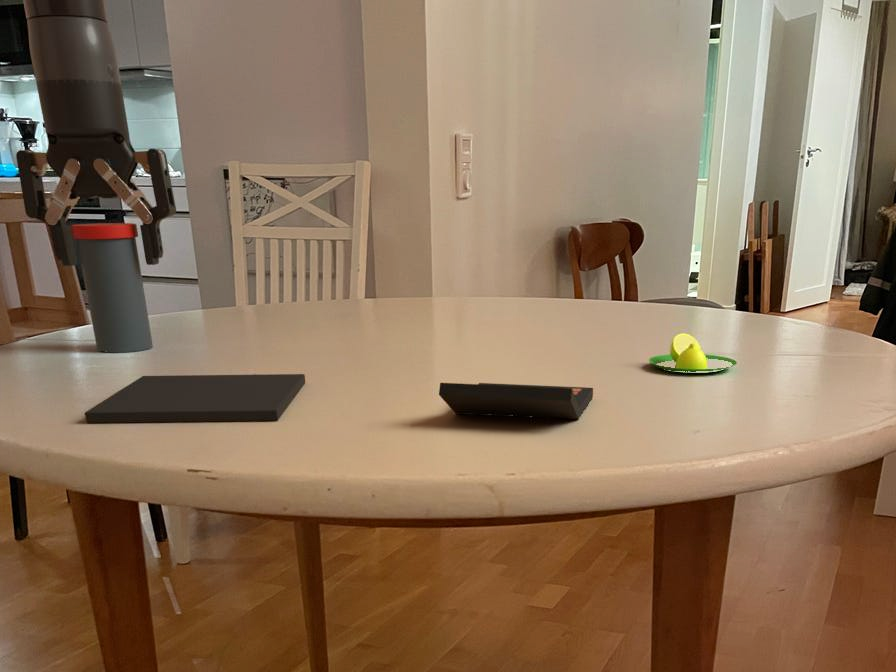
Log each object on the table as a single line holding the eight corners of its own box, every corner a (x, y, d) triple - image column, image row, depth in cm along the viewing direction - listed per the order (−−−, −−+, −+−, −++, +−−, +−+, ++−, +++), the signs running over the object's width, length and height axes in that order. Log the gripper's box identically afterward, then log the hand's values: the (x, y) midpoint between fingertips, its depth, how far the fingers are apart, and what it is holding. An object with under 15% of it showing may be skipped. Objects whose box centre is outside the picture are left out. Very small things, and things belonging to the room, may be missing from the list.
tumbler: (85, 353, 95) (60, 226, 89) (105, 343, 100) (83, 223, 95) (146, 352, 95) (125, 225, 89) (163, 343, 100) (144, 222, 95)
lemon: (631, 364, 87) (633, 333, 86) (701, 358, 90) (704, 327, 88) (681, 379, 80) (684, 345, 79) (754, 371, 83) (758, 339, 82)
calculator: (592, 398, 74) (594, 360, 72) (569, 433, 63) (571, 389, 62) (479, 393, 76) (479, 355, 74) (439, 426, 66) (438, 383, 64)
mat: (86, 423, 67) (83, 412, 67) (144, 385, 80) (142, 375, 79) (278, 421, 67) (276, 410, 67) (305, 383, 80) (304, 373, 80)
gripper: (165, 82, 90) (190, 261, 97) (19, 83, 90) (55, 263, 97) (142, 74, 83) (171, 267, 91) (-16, 76, 83) (25, 269, 90)
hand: (111, 264), depth 94 cm, fingers open, 8 cm apart
